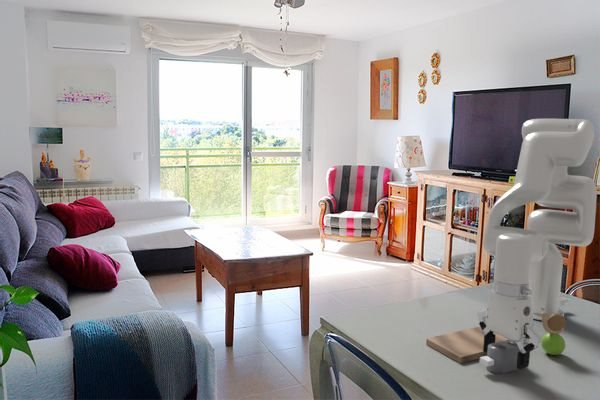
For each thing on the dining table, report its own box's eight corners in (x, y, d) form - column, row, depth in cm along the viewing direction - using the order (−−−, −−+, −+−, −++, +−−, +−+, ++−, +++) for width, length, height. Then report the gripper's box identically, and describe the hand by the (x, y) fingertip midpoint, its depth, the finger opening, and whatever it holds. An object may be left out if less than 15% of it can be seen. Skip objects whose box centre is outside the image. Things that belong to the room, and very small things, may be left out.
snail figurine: (532, 349, 132) (535, 304, 130) (556, 349, 133) (560, 303, 131) (543, 359, 127) (547, 311, 125) (569, 358, 127) (573, 311, 126)
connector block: (512, 359, 126) (514, 337, 126) (526, 366, 123) (528, 344, 122) (476, 369, 121) (477, 347, 120) (489, 377, 117) (491, 353, 117)
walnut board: (482, 330, 144) (483, 325, 143) (519, 347, 133) (519, 342, 133) (426, 344, 134) (426, 338, 134) (460, 363, 124) (460, 357, 124)
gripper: (555, 297, 114) (548, 371, 116) (492, 276, 129) (487, 342, 131) (531, 301, 110) (525, 378, 113) (470, 279, 125) (465, 347, 128)
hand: (505, 359), depth 122 cm, fingers open, 9 cm apart
